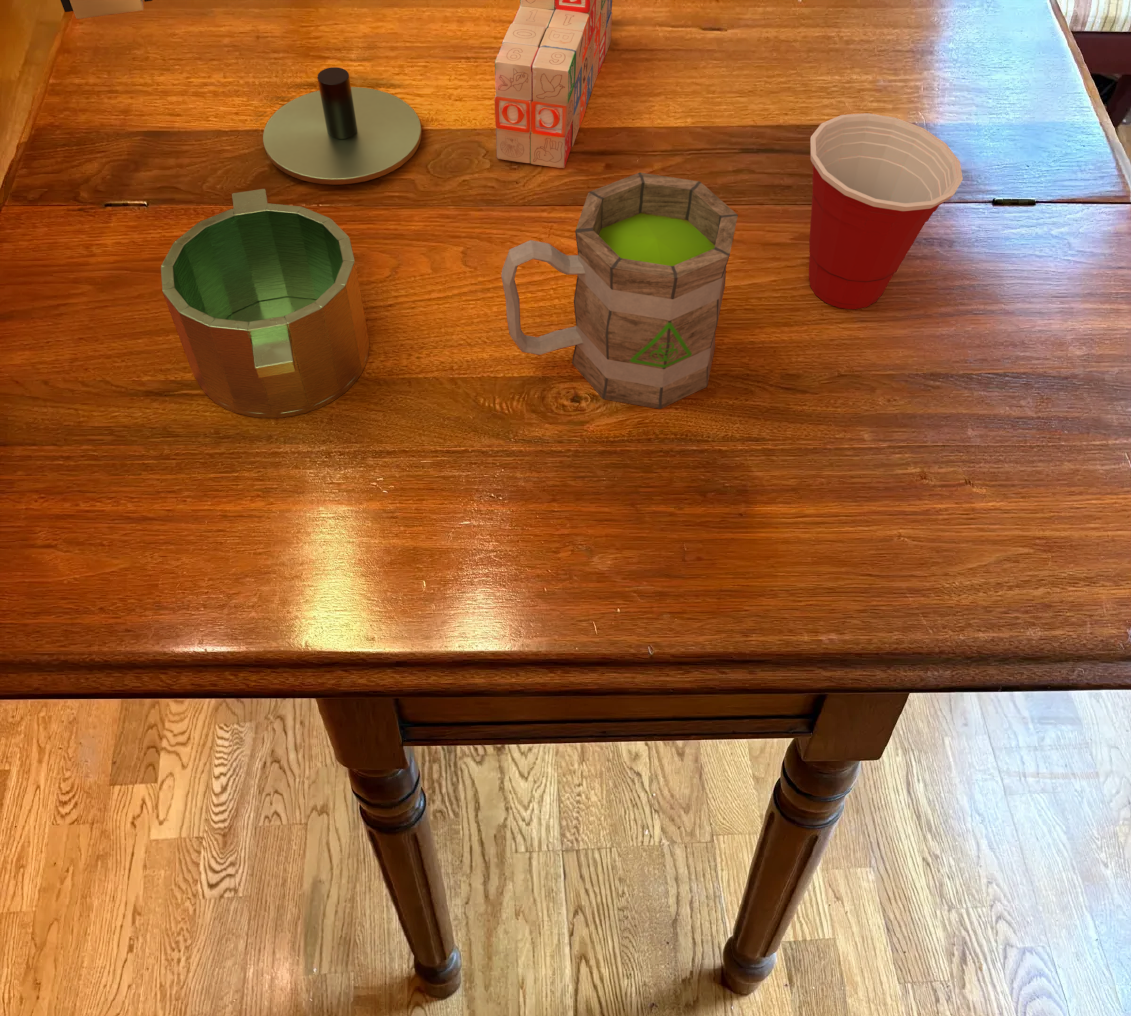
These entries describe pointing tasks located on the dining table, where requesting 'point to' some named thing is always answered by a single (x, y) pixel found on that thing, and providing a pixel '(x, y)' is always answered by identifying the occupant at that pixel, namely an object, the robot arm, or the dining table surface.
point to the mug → (638, 288)
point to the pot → (267, 307)
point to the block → (104, 7)
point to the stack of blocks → (548, 77)
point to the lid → (341, 133)
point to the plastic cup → (871, 202)
